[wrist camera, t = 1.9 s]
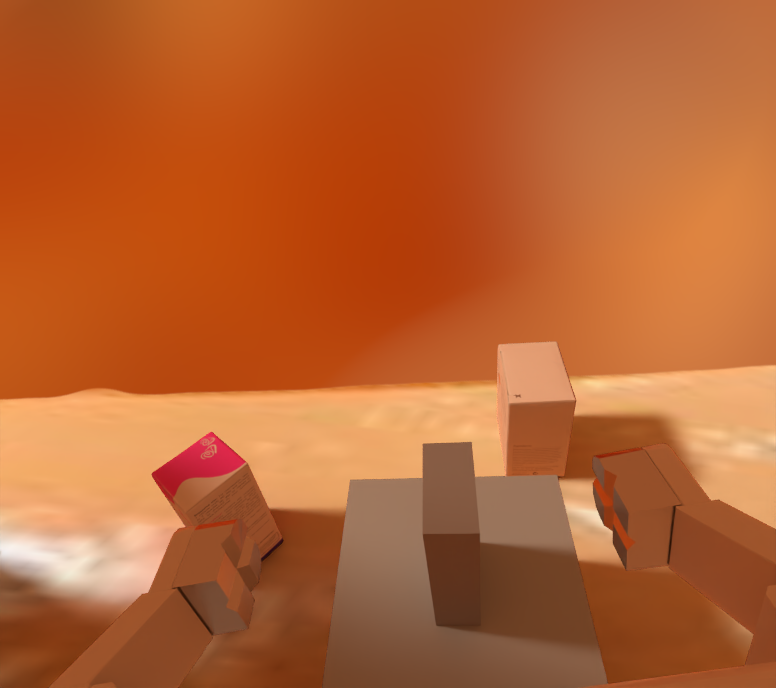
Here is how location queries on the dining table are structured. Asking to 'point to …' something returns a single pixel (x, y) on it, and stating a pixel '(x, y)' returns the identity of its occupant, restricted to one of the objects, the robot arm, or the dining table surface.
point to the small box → (534, 408)
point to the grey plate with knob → (459, 584)
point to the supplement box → (217, 491)
